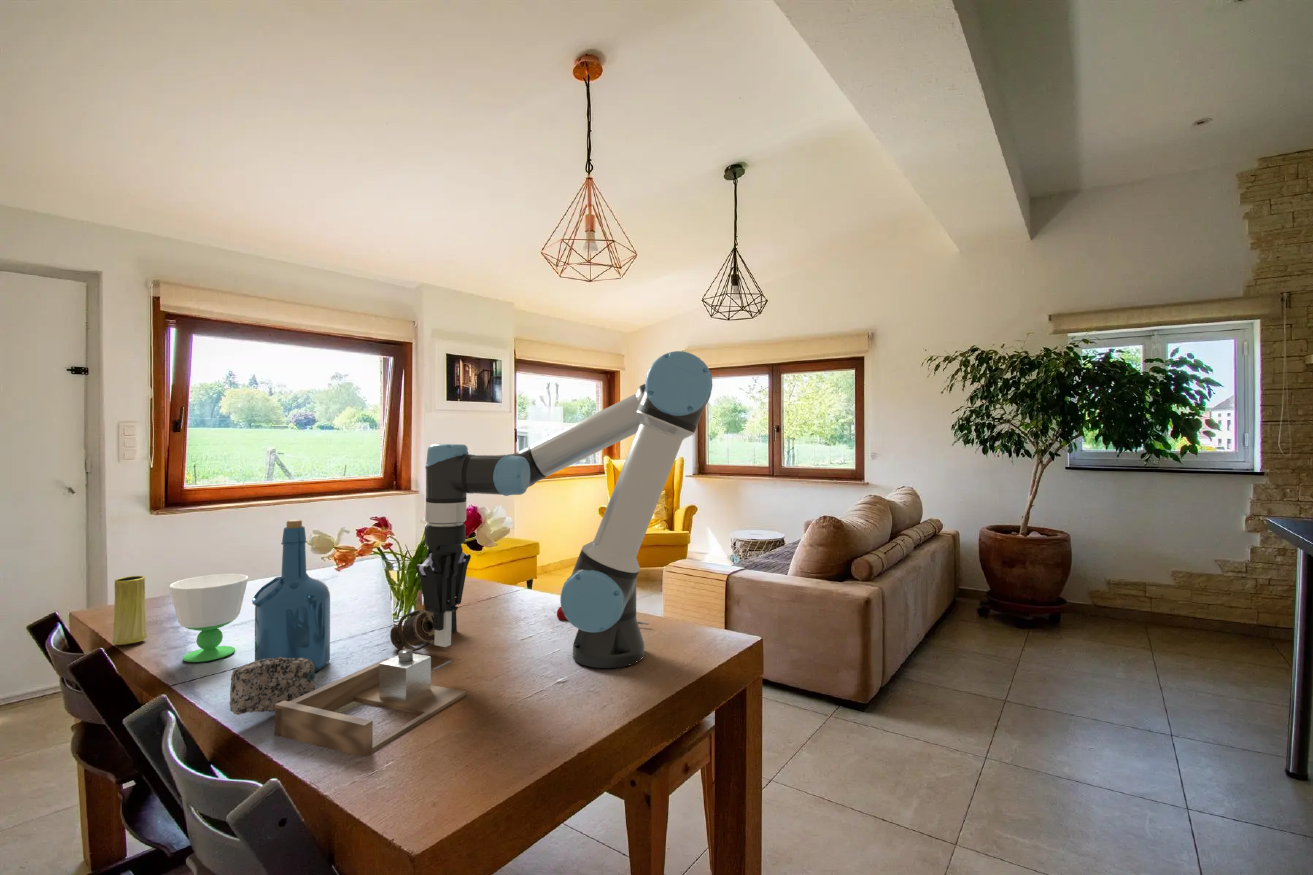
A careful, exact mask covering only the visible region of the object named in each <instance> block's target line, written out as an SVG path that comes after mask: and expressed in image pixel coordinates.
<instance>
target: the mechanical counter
mask: <svg viewBox="0 0 1313 875" xmlns="http://www.w3.org/2000/svg"><path fill="white" fill-rule="evenodd" d="M406 618H407V619H406ZM405 619H406V620H405ZM404 620H405V621H404ZM433 625H434V614H433V612H428V611H424V610H423V609H418V610H416V609H415V610H414V611H411V612H409V613H407V614H404V615H403V616H401V617H400V619H399V621H398V624H397V626H396V625H395V626H392V628H391V629H390V633H389V636H390V638H389V639H390V641H391V644H392V645H393V647H395V648H396V649H398V650H399V651H401V650H404V649H403V648H406V649H411V650H413V652H416V651H419V650H422V649H423V650H424V649H425V648H428V647H430V646H432V645H434V642H435V630H434V628H433ZM426 643H427V644H426ZM413 646H414V647H413ZM418 646H419V647H418Z"/></svg>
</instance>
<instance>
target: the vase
mask: <svg viewBox="0 0 1313 875" xmlns="http://www.w3.org/2000/svg"><path fill="white" fill-rule="evenodd" d="M145 580H146V577H145V576H144V575H131V576H124V577H120V578H119V577H118V578H116V579H114V602H113V603H114V606H113V623H112V626H113V627H112V637H111V638H112V640H111V644H112V645H116V646H117V645H118V646H122V645H123V646H124V645H129V644H135V643H139V642H142V641H144V639H145V640H146V639H147V638H148V635H147V606H146V586H145V584H146V581H145Z"/></svg>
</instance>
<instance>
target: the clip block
mask: <svg viewBox="0 0 1313 875" xmlns="http://www.w3.org/2000/svg"><path fill="white" fill-rule="evenodd" d="M431 671H432V657H431V656H429V655H424V654H418V653H414V651H413V650H411V649H407V648H406V649H401V650H399V651H398V654H397V655H396V656H393V657H391V658H389V659H388V660H386V661H384V662H382V663H379V698H384V699H389V700H393V701H398V702H403V703H407V702H409V701H411V700H412V699H414V698H416V697H418V696H420V695H422V694H423V693H425V692H427V691H429V690H431V685H432V684H431V683H432V678H431V676H432V672H431Z"/></svg>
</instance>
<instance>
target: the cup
mask: <svg viewBox="0 0 1313 875" xmlns="http://www.w3.org/2000/svg"><path fill="white" fill-rule="evenodd" d="M248 581H249V576H248V575H247V574H243V573H219V574H218V573H217V574H209V575H208V574H207V575H201V576H200V575H199V576H193V577H188V578H184V579H180V580H176V581H175V582H173V583H170V584H169V586H168V588H169V591H170V595H171V599H172V603H173V607H174V611H175V615H176V618H177V622H178V624H180V626H181V627H184V628H185V629H187V630H192V631H199V633H198V635H197V636H196V639H195V640H196V645H197V646H198V647H199V649H196V650H193V651H190V652H188V653H186V654H185V655H184V656H183V658H182V661H185V662H188V663H201V662H208V661H215V660H218V659H223V658H225V657H228V656H230V655H233V653H234V652H236V648H235V647H233V646H230V645H221V643H222V641H223V638H224V636H223V632H222V631H221V629H220V628H223V627H224V626H227V625H229V624H231V623H232V622H234V621H235V620H236V619H237V618H238V617H239V615H240V614H241V610H242V605H243V602H244V596H245V594H246V593H245V592H246V588H247V584H248Z"/></svg>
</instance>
